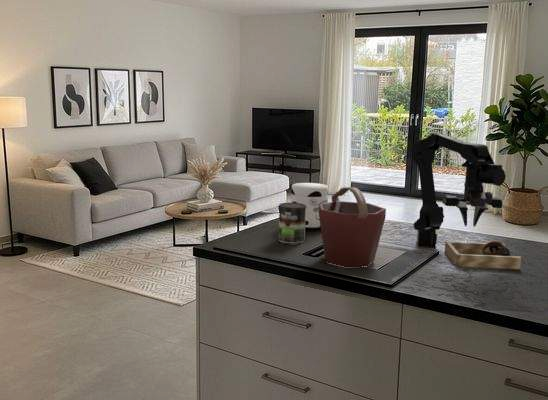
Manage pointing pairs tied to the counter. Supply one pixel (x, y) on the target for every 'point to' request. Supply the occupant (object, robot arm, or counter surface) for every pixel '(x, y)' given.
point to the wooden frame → (478, 256)
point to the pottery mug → (496, 249)
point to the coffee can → (292, 222)
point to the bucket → (350, 229)
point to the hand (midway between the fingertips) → (469, 226)
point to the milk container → (310, 201)
